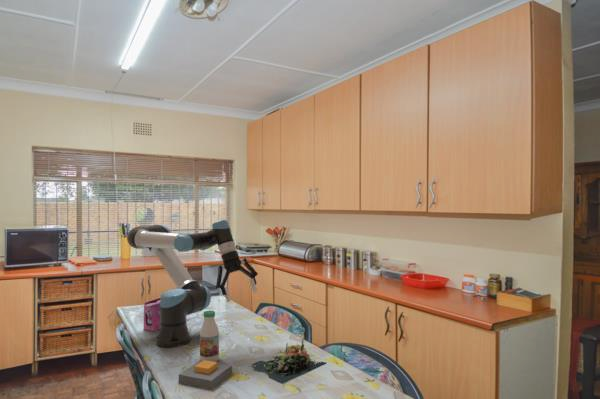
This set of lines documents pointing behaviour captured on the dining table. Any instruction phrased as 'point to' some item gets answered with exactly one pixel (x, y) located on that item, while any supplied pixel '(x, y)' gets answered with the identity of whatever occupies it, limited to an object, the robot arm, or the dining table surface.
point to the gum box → (152, 315)
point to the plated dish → (288, 364)
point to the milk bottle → (209, 338)
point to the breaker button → (205, 367)
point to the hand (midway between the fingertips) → (242, 296)
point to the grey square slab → (205, 376)
